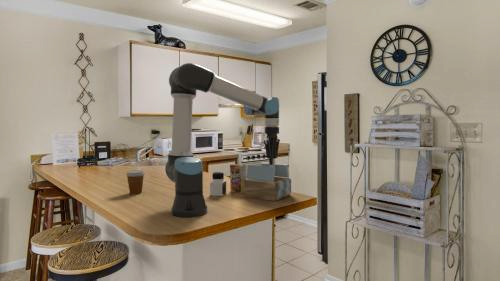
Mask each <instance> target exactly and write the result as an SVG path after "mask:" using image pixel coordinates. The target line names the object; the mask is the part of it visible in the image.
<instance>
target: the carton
mask: <svg viewBox="0 0 500 281" xmlns="http://www.w3.org/2000/svg"><path fill="white" fill-rule="evenodd" d="M291 193H292V179H291V178H289V177H288V178H287V177H278V176H274V182H272V181H263V180H255V179H247V178H246V179H245V193H244V196H245V197H247V198H252V199H259V200H265V201H270V202H277V201H278V200H282V199H284V198H286V197H289V196H291Z"/></svg>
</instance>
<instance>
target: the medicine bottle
mask: <svg viewBox="0 0 500 281" xmlns="http://www.w3.org/2000/svg"><path fill="white" fill-rule="evenodd" d="M224 176H225V175H224V172H222V171H215V172H213V173H212V176H211V177H212V181H210V182H209V196H213V197H223V196H225V195H226V194H227V180H224V179H225V178H224Z"/></svg>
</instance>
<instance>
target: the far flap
mask: <svg viewBox="0 0 500 281" xmlns="http://www.w3.org/2000/svg"><path fill="white" fill-rule="evenodd" d="M260 166H265V167H269V162H261V163H260ZM289 174H290V173H289V166H288V164H287V163H276V162H275V176H274V177H282V178H289V177H290V175H289Z"/></svg>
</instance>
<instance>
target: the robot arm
mask: <svg viewBox="0 0 500 281" xmlns="http://www.w3.org/2000/svg"><path fill="white" fill-rule="evenodd" d="M168 84H169V87H170V96H171V97H172V98H173V109H172V110H173V111H172V136H171V150H170V152H168V153H167V154H168V155H167V161H166V163H165V168H164V173H165V174H166V176H167V178H168V179H169V180H170V181H171V182H173V183H174V184H175V185H174V189H175V191H174V193H175V195H174V199H173V203H172V206H171V215H172V216H174V217H175V216H176V217H179V218H189V217H190V218H192V217H199V216H202V215H205V214H206V213H208V206H207V204H206V200H205V197H204V190H203V189H204V185H203V184H204V182H203V179H204V177H203V176H204V174H203V173H204V172H203V169H204V166H203V161H202V160H201V159H200V158H198V157H194V154H193V152H192V151H191V146H192V141H191V140H192V127H193V126H192V125H193V124H192V119H193V105H194V104H193V100H194V99H195V98H196V97H197V91H200V92H203V93H206V94H207V93H208V92H210V93H212V94H214V95H217V96H219V97H222V98H224V99H226V100H229V101H231V102H234V103H237V104H239V105H242V106H243V107H242V108H243V109H242V110H243V113H244V114H245V115H246V116H264V126H265V127H264V134H265V135H266V138H265V139H263V143H264V148H265V153H266V154H265V156H266V158H267V159H268V160H269V162H268V163H269V167H275V163H276V159H277V158H278V154H279V146H280V142H281V140H280V138H279V137H278V135H279V134H280V127H279V125H280V100H279V97H276V96H267V97H266V96H263V95H261V94H259V93H257V92H255V91H252V90H249V89H247V88H245V87H243V86H241V85H238V84H235V83H234V82H231V81H229V80H227V79H225V78H222V77H219V76H217V75H216V74H215V72H214V71H212V70H210V69H207V68H206V67H203V66H201V65H198V64H195V63H190V62H188V63H187V62H186V63H184V64H181V65H180V66H177V67H176V68H174V69H173V70H172V71H171V72H170V75H169V77H168Z"/></svg>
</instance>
